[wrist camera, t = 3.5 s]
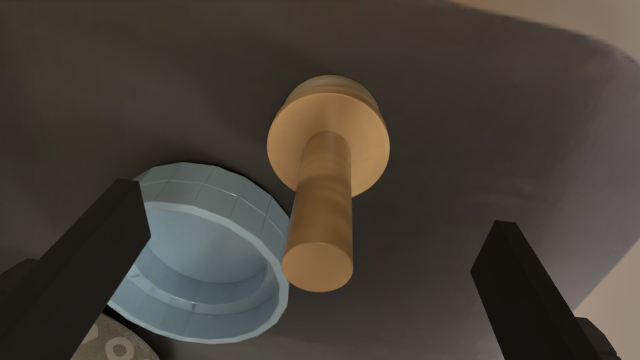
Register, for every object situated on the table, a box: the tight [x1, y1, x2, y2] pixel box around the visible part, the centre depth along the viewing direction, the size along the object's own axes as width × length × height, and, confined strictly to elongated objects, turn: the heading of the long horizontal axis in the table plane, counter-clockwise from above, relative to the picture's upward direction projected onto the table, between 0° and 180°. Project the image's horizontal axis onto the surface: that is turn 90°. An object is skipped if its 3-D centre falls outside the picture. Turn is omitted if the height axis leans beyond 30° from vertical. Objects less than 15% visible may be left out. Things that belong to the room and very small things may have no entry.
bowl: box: [107, 162, 291, 344], centre depth 25 cm, size 13×13×5 cm
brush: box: [267, 75, 390, 292], centre depth 16 cm, size 6×6×12 cm
